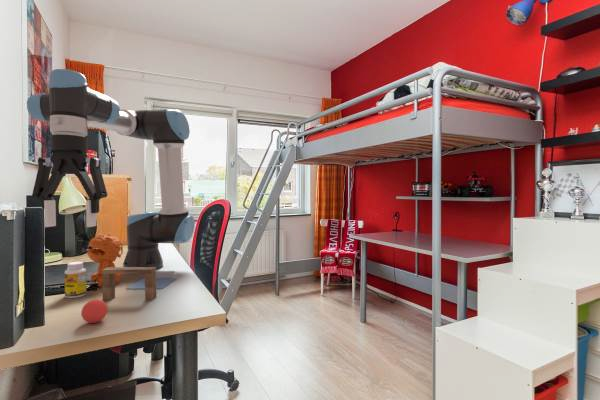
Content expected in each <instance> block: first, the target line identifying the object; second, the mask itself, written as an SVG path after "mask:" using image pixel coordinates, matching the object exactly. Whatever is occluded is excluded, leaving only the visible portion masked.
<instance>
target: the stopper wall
mask: <svg viewBox="0 0 600 400" xmlns="http://www.w3.org/2000/svg"><path fill="white" fill-rule="evenodd" d="M162 278H176V271H175V270H156V279H162Z"/></svg>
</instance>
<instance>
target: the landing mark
mask: <svg viewBox="0 0 600 400" xmlns="http://www.w3.org/2000/svg"><path fill="white" fill-rule="evenodd" d="M175 280H177V278H176V277H175V278H162V279H156V290H164V289H165V288H167V287H168V286H169V285H170V284H172V283H173V282H174V281H175ZM125 290H145V278H142V279H140V280H138V281H137V282H135V283H133V284H131V285H130V286H128V287H126V289H125Z"/></svg>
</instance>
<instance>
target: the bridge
mask: <svg viewBox="0 0 600 400" xmlns="http://www.w3.org/2000/svg"><path fill="white" fill-rule="evenodd" d="M156 271H157V269H156V267H123V266H119V267H118V266H117V267H116V266H115V267H107V268H105V269H103V270H102V287H101V288H102V289H101V290H102V293H101V294H102V297H101V298H102V301H104V302H105V301H108V302H109V301H111V300H113V299H115V298H116V284H115V274H122V275H124V274H125V275H129V274H133V275H135V274H137V275H138V274H139V275H143V274H144V279H145V289H144V301H153V300H155V299H157V289H156Z"/></svg>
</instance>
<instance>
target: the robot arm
mask: <svg viewBox="0 0 600 400" xmlns="http://www.w3.org/2000/svg"><path fill="white" fill-rule="evenodd" d="M48 78H49V79H48V86H47V87H48V93H46V92H42V93H34V94H32V95H30V96H28V97H27V100H26V109H27V111H28V114H29V116H31V117H32V118H33V119H34V120H36V121H38V122H45V123H49V132H50V133H51V135H50V136H49V143H50V144H49V145H50V148H49V149H50V150H51V155H50V157H38V159H37V163H38V165H37V166H38V167H37V174H36V175H35V177H36V178H35V181H34V186H33V189H32V193H31V196H32V197H33V198H36V199H39V200H40V203H41V206H40V207H42V208H44V209H45V219H44V228H50V227H56V226H57V212H56V211H57V210H56V207H57V206H56V200H55V198H53V197H54V195H55V193H56V192H57V191H58V188H59V186H60V184H61V183H62V180H63V178H64V177H65V176H66V175H70V174H73V175H74V176H76V177H77V179H78V180H79V183H80V184H81V186H82V188H83V190H84V191H85V193H86V195H87V197H88V198H87V200H85V210H86V211H85V214H86V215H85V216H86V218H85V219H86V220H85V222H86V224H85V225H86V228H92V227H97V214H98V213H99V212H100V200H101V199H104V198H107V197H108V192H107V188H106V184H105V181H104V180H105V179H104V178H103V174H102V170H101V163H102V162H101V159H100V158H96V157H91V158H90V157H89V156H88V150H89V149H88V148H89V147H88V145H89V144H88V143H89V142H88V138H87V137H86V136H88V127H89V128H94V129H99V130H106V131H112V132H116V133H117V134H118V135H121V136H125V137H129V138H130V137H131V138H135V139H141V140H146V141H153V143H152V144H153V146H155V148H157V154H158V155H157V156H158V168H159V183H160V196H161V197H160V199H161V201H160V202H161V208H160V210H159V211H150V212H143V213H135V214H129V216H128V217H127V221H126V222H127V223H126V233H127V234H126V237H127V238H126V239H127V240H126V242H127V252H126V254H125V257H124V260H123V263H122V267H156V270H159V269H161V268H162V267H163V266H164V259H163V257H162V254H161V252H160V250H159V244H175V245H177V244H178V245H179V244H186V243H188V242H189V241H190V240H191V239H192V236H193V235H194V230H195V223H196V221H195V218H194V216H193V215H191V214H189V209H188V208H186V207H185V197H184V196H185V195H184V180H183V178H184V177H183V162H182V161H183V160H182V147H183V146H185V141H186V140H188V139H189V137H190V126H189V125H190V124H189V122H188V119H187V117H186V115H185V114H184V113H183V112H182V111H181V110H179V109H170V108H169V109H168V108H167V109H141V110H140V109H139V110H130V109H128V110H127V109H121V107H120V104H119V103H118V101H116V100H115V99H113V98H111V97H110V96H108V95H107V94H103V93H100V92H99V91H96V90H93V89H91V88H90V87H88V83H87V82H88V81H87V78H86V77H85V75H84V74H82V73H81V72H79V71H76V70H72V69H66V68H57V69H56V68H55V69H52V70H51V71H50V72H49V76H48ZM87 165H88V167H89V172H90V175H89V172H88V170H87V168H86V166H87ZM52 167H53V168H52ZM90 176H91V177H90Z"/></svg>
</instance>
